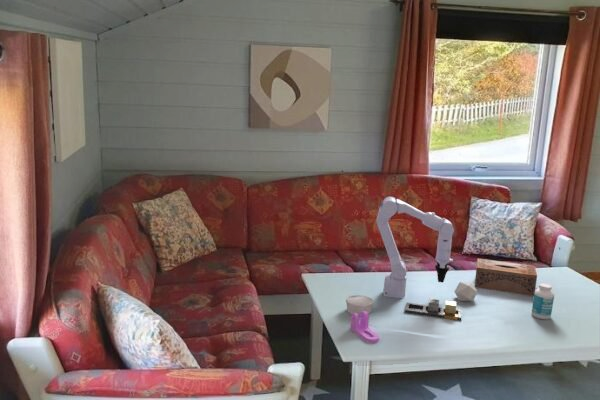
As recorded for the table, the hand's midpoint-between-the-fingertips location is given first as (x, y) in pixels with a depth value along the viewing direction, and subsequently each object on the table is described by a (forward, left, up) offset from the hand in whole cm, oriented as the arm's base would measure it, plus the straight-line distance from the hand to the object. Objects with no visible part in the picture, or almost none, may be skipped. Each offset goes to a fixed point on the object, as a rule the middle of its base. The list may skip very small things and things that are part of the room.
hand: (440, 278), depth 236 cm
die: (+11, +4, -10) cm, 15 cm away
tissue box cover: (+29, +29, -10) cm, 42 cm away
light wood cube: (+5, -16, -9) cm, 19 cm away
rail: (-2, -16, -10) cm, 19 cm away
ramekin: (-31, -24, -10) cm, 41 cm away
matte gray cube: (-2, -16, -9) cm, 19 cm away
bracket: (-25, -44, -10) cm, 51 cm away
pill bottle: (+41, -2, -10) cm, 42 cm away
